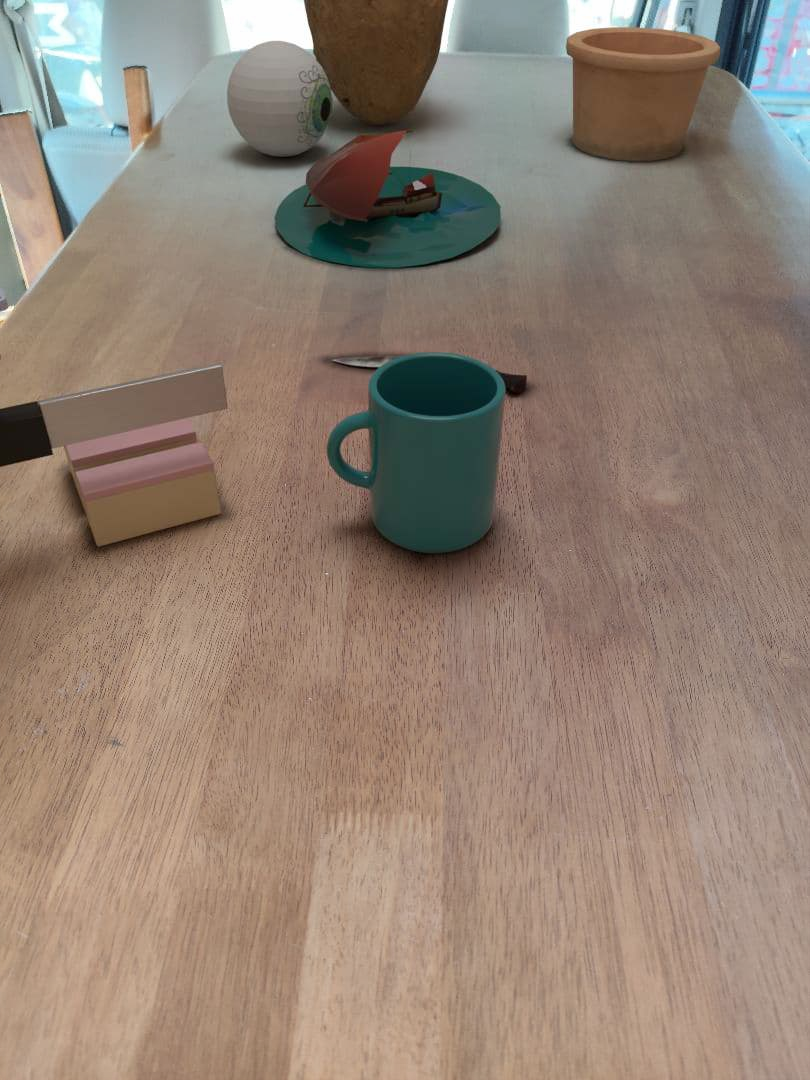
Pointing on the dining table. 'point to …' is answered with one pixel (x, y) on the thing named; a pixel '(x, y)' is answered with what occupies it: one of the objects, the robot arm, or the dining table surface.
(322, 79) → the decorative object
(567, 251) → the dining table surface
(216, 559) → the dining table surface
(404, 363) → the cup
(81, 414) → the cake knife
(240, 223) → the dining table surface
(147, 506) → the cake slice
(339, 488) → the dining table surface
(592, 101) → the pottery
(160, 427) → the cake
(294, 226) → the sailing ship model
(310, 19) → the brown rounded tapered piece
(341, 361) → the knife
